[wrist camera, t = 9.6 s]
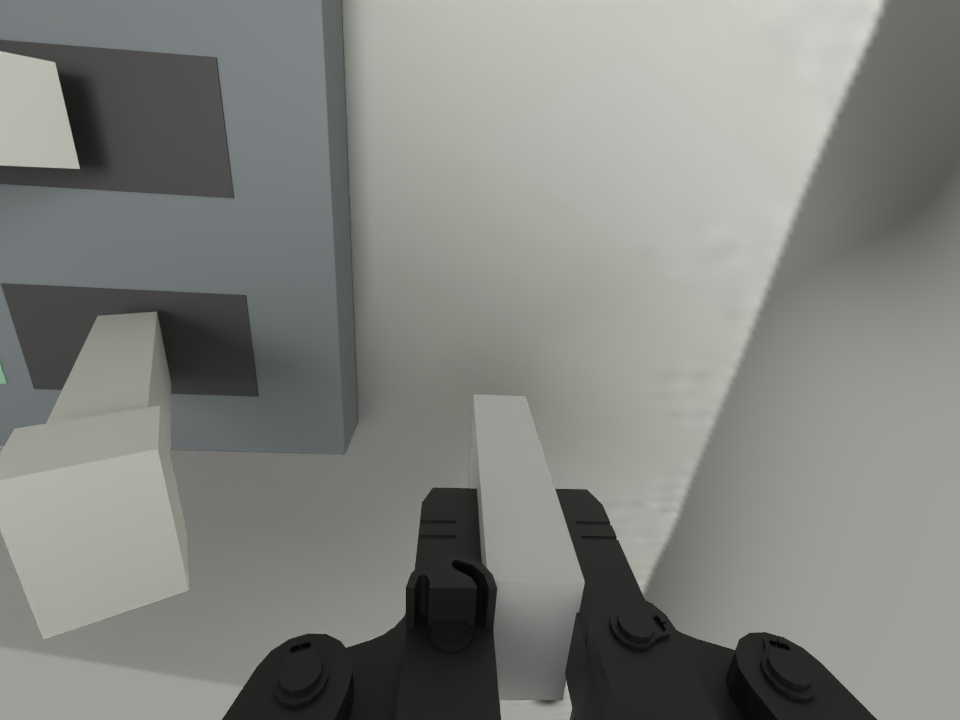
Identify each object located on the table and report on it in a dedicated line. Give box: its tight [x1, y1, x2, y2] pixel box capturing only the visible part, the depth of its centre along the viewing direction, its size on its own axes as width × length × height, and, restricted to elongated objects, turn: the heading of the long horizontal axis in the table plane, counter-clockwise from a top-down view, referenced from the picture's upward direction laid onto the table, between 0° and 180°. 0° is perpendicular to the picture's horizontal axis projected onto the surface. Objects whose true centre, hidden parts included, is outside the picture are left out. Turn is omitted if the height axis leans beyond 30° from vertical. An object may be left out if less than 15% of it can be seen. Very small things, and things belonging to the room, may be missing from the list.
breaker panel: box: [0, 0, 358, 454], centre depth 17 cm, size 16×26×3 cm, turn 176°
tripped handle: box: [0, 312, 189, 640], centre depth 13 cm, size 2×4×12 cm, turn 177°
